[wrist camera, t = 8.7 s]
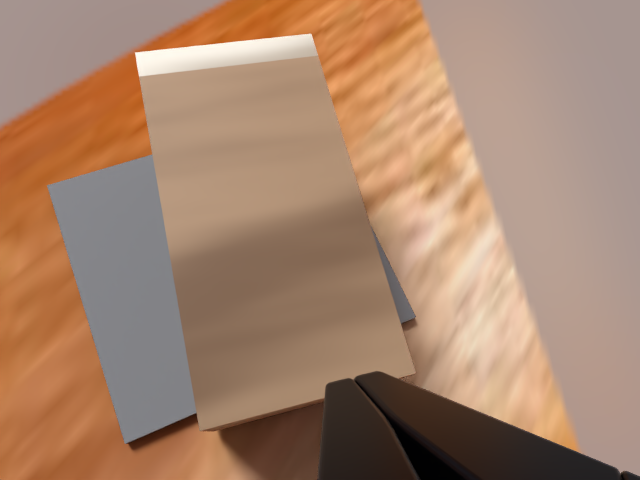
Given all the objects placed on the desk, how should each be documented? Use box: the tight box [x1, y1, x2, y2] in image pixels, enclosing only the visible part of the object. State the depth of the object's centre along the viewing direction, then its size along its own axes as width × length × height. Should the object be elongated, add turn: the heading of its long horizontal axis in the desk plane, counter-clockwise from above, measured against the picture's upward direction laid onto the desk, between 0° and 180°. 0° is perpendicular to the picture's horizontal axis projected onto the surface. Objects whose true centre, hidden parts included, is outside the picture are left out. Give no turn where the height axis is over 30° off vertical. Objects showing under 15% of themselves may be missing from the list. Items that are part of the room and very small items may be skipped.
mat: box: [47, 155, 416, 444], centre depth 18 cm, size 9×10×1 cm
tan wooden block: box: [135, 34, 416, 431], centre depth 15 cm, size 5×5×10 cm
